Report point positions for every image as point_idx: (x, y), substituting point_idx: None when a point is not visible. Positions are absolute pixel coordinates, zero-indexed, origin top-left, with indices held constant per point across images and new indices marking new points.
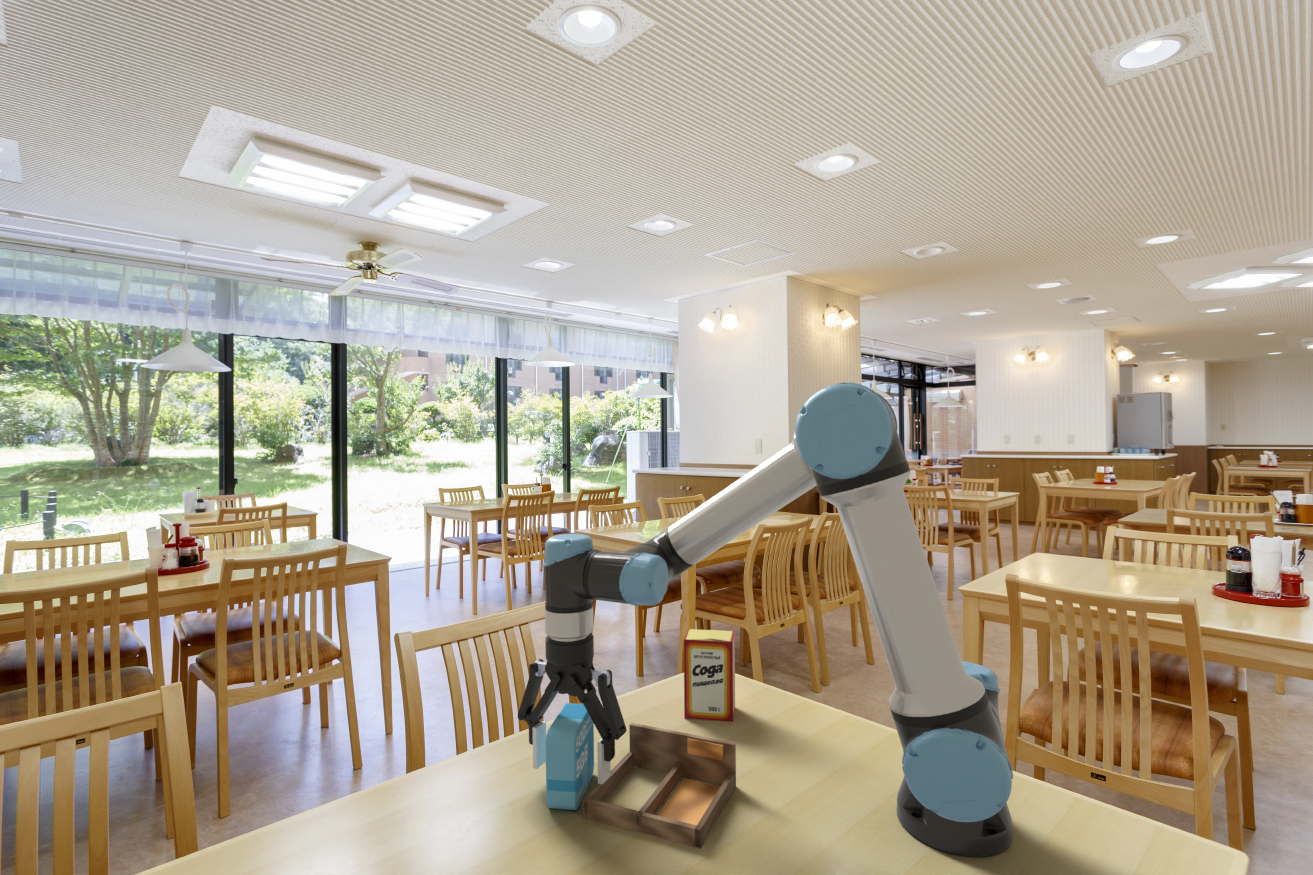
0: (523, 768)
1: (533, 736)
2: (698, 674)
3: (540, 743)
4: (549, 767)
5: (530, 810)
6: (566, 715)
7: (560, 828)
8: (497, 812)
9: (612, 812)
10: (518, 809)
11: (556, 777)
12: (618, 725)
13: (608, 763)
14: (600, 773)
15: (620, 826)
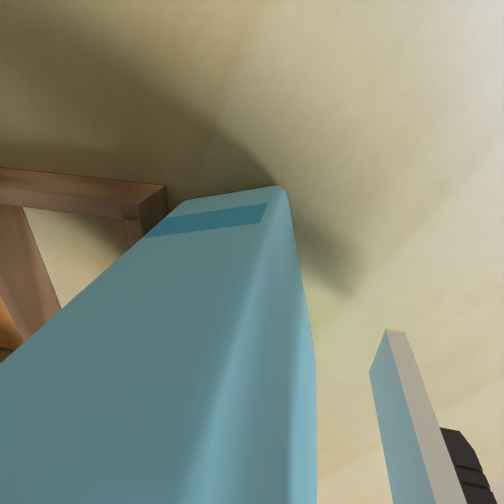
0: (458, 360)
1: (450, 476)
2: None
3: (399, 433)
4: (232, 253)
5: (344, 168)
6: None
7: (192, 103)
8: (483, 113)
9: (45, 186)
10: (394, 160)
11: (211, 233)
12: None
13: None
14: None
15: (49, 173)
